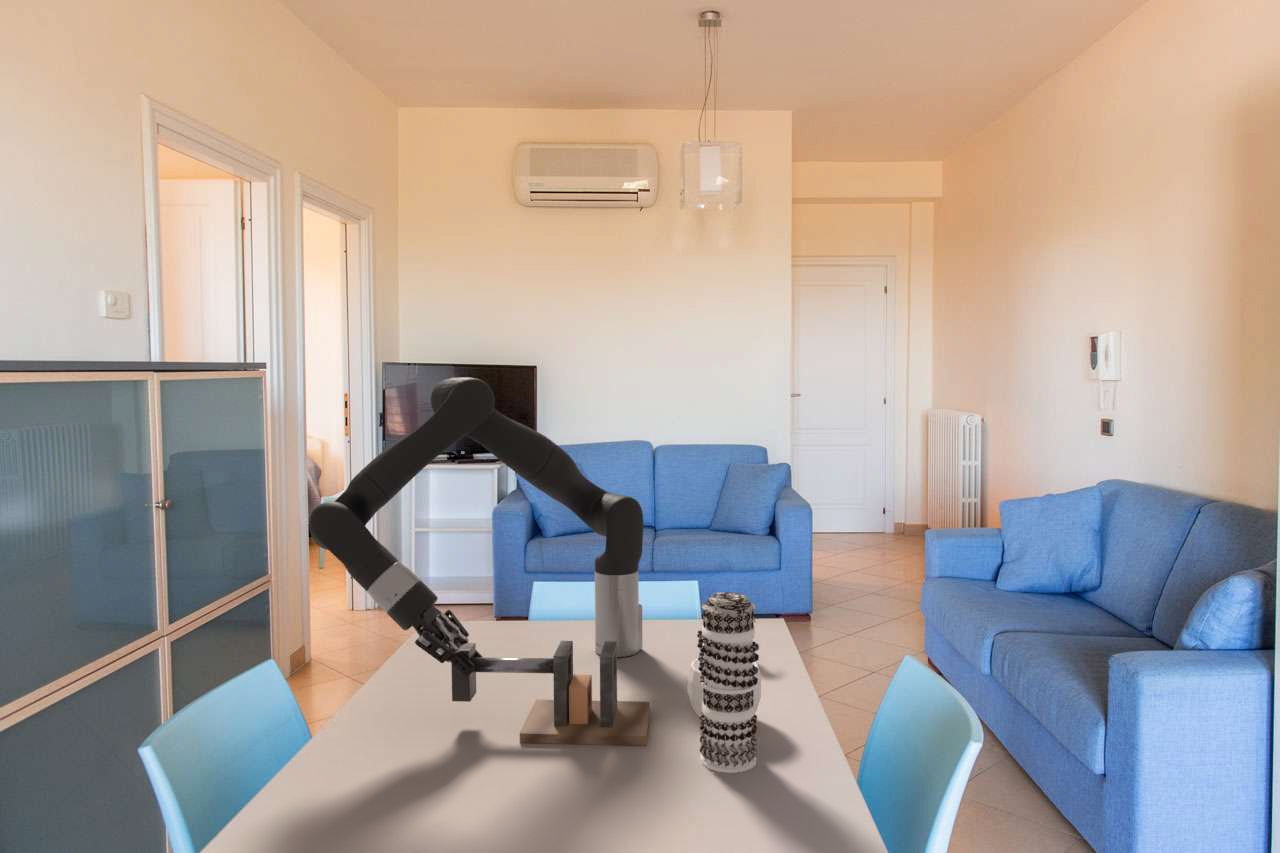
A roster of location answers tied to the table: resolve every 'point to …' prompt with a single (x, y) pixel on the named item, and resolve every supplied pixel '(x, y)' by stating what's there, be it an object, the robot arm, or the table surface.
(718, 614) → the decorative candle
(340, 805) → the table surface
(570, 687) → the spacer
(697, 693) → the cup
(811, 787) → the table surface
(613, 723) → the rig
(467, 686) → the shaft
